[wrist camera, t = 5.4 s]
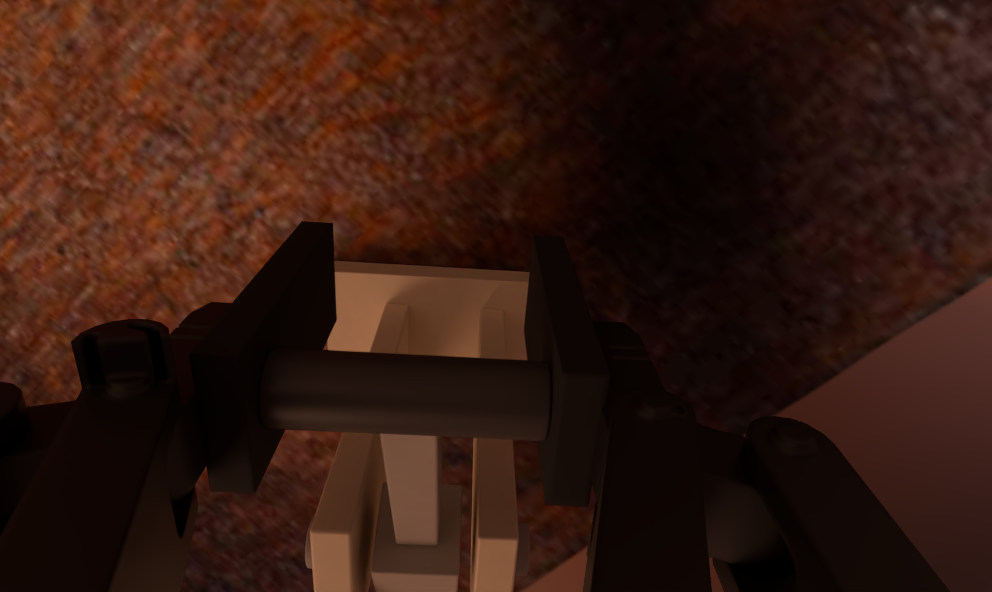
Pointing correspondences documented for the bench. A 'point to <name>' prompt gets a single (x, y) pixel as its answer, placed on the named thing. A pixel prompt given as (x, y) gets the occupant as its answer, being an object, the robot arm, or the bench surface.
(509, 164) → the bench surface
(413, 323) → the bracket
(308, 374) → the lever
